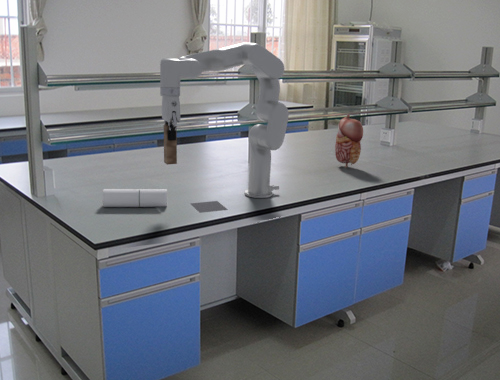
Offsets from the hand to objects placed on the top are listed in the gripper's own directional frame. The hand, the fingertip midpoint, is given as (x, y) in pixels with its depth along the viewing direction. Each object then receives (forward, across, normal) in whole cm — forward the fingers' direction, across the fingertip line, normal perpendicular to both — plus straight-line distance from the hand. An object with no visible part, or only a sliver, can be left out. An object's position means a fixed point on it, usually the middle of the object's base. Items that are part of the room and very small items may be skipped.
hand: (170, 138), depth 204 cm
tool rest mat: (+28, -5, -15) cm, 32 cm away
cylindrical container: (+25, +2, 0) cm, 25 cm away
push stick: (+10, 0, 0) cm, 10 cm away
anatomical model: (+28, +38, -113) cm, 122 cm away
